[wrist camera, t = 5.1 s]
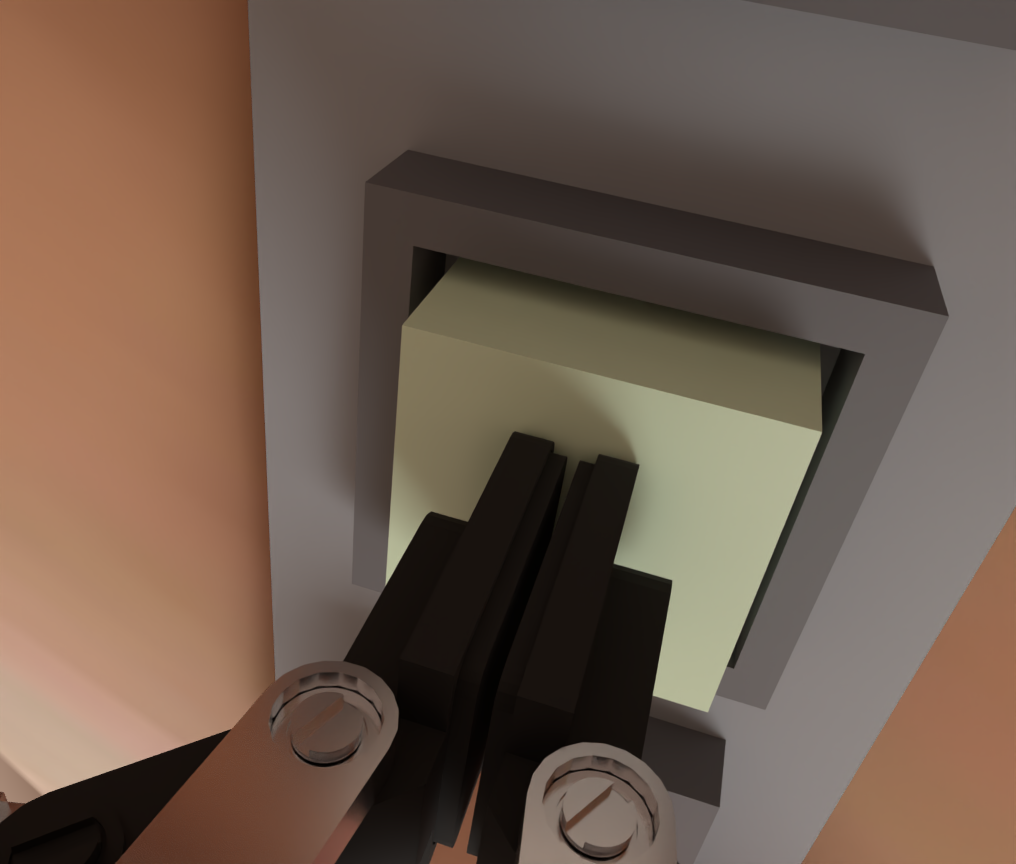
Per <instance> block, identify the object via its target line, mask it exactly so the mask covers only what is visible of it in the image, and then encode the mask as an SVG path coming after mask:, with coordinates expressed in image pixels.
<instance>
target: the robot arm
mask: <svg viewBox="0 0 1016 864" xmlns="http://www.w3.org/2000/svg"><path fill="white" fill-rule="evenodd" d="M554 446H555V443H554V442H553V441H550V440H546V439H542V438H538V437H535V436H531V435H527V434H523V433H520V432H516V431H514V432H513V433H512V435H511V436H510V438H509V440H508V442H507V444H506V446H505V448H504V450H503V452H502V454H501V456H500V458H499V460H498V462H497V464H496V466H495V468H494V470H493V472H492V474H491V476H490V478H489V481H488V483H487V485H486V487H485V489H484V491H483V493H482V495H481V497H480V499H479V501H478V503H477V505H476V507H475V509H474V511H473V513H472V515H471V517H470V519H469V521H468V522H467V521H463V520H460V519H456V518H453V517H449V516H446V515H442V514H439V513H435V512H432V511H431V512H429V513H428V514H427V515H426V516H425V518H424V519H423V521H422V522H421V524H420V526H419V528H418V529H417V531H416V533H415V535H414V536H413V538H412V540H411V542H410V544H409V545H408V547H407V549H406V551H405V552H404V554H403V556H402V558H401V559H400V561H399V563H398V565H397V567H396V568H395V570H394V572H393V574H392V575H391V577H390V579H389V581H388V582H387V584H386V586H385V588H384V590H383V591H382V593H381V595H380V597H379V598H378V600H377V602H376V604H375V605H374V607H373V609H372V611H371V613H370V614H369V616H368V618H367V620H366V621H365V623H364V625H363V627H362V628H361V630H360V632H359V634H358V636H357V637H356V639H355V641H354V643H353V644H352V646H351V648H350V650H349V651H348V653H347V655H346V657H345V659H344V660H343V661H320V662H315V663H310V664H305V665H302V666H300V667H297V668H295V669H293V670H291V671H289V672H287V673H285V674H283V675H282V676H281V677H280V678H279V679H277V680H276V681H275V682H274V683H273V684H272V685H270V686H269V687H268V688H267V689H266V690H265V691H264V693H263V694H262V695H261V696H260V697H259V698H258V700H257V701H256V702H255V703H254V704H253V705H252V706H251V708H250V709H249V710H248V711H247V712H246V713H245V715H244V716H243V717H242V718H241V719H240V720H239V721H238V723H237V724H236V725H235V726H234V727H233V728H232V729H230V730H227V731H225V732H222V733H219V734H216V735H213V736H210V737H207V738H204V739H202V740H199V741H196V742H193V743H190V744H187V745H184V746H181V747H179V748H176V749H173V750H170V751H167V752H164V753H161V754H158V755H155V756H153V757H150V758H147V759H144V760H141V761H138V762H135V763H132V764H130V765H127V766H124V767H121V768H118V769H115V770H112V771H109V772H106V773H104V774H101V775H98V776H95V777H92V778H89V779H86V780H83V781H81V782H78V783H75V784H72V785H69V786H66V787H63V788H60V789H57V790H55V791H52V792H49V793H47V794H45V795H43V796H40V797H38V798H36V799H35V800H32V801H30V802H28V803H26V804H25V803H15V802H7V799H6V796H5V794H4V792H0V864H430V861H431V859H432V856H433V853H434V851H435V848H436V845H437V843H439V844H442V845H445V846H448V847H451V848H453V847H454V845H455V842H456V840H457V837H458V834H459V831H460V829H461V826H462V823H463V820H464V817H465V814H466V811H467V809H468V806H469V803H470V800H471V797H472V794H473V791H474V789H475V786H476V783H477V780H478V777H479V774H480V771H481V776H480V781H479V787H478V792H477V798H476V803H475V808H474V814H473V819H472V825H471V830H470V836H469V841H468V846H467V853H468V854H471V855H474V856H477V862H476V864H679V863H678V861H677V843H676V820H675V815H674V810H673V805H672V800H671V798H670V796H669V794H668V792H667V790H666V788H665V787H664V785H663V783H662V781H661V779H660V778H659V777H658V776H657V775H656V774H655V773H654V772H653V771H652V770H651V769H650V768H649V767H648V766H647V764H646V763H645V762H643V761H641V759H642V753H643V747H644V742H645V736H646V731H647V725H648V719H649V714H650V708H651V703H652V697H653V691H654V686H655V680H656V675H657V669H658V663H659V658H660V652H661V647H662V641H663V635H664V630H665V624H666V619H667V613H668V607H669V602H670V596H671V590H672V580H670V579H666V578H663V577H659V576H656V575H652V574H649V573H645V572H642V571H638V570H635V569H631V568H628V567H624V566H621V565H617V564H614V560H615V556H616V552H617V549H618V545H619V541H620V537H621V534H622V530H623V526H624V522H625V519H626V515H627V511H628V507H629V504H630V500H631V496H632V492H633V489H634V485H635V481H636V477H637V473H638V470H639V466H640V465H639V464H636V463H632V462H628V461H625V460H621V459H617V458H613V457H610V456H606V455H602V454H599V455H598V457H597V460H596V463H595V464H592V463H589V462H585V461H581V460H580V461H579V464H578V466H577V469H576V472H575V474H574V477H573V480H572V483H571V485H570V488H569V491H568V493H567V496H566V499H565V502H564V504H563V507H562V510H561V513H560V515H559V518H558V521H557V524H556V526H555V529H554V532H553V528H554V523H555V518H556V513H557V508H558V503H559V499H560V494H561V489H562V484H563V479H564V475H565V470H566V465H567V457H566V456H563V455H559V454H555V453H554ZM552 532H553V535H552ZM481 769H482V770H481Z"/></svg>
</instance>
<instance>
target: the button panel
mask: <svg viewBox="0 0 1016 864" xmlns="http://www.w3.org/2000/svg"><path fill="white" fill-rule="evenodd" d="M248 20H249V45H250V69H251V94H252V119H253V143H254V168H255V192H256V217H257V241H258V266H259V290H260V315H261V339H262V364H263V389H264V413H265V438H266V462H267V487H268V511H269V536H270V560H271V585H272V609H273V634H274V659H275V681H276V680H277V679H279V678H280V677H281V676H282V675H283V674H285V673H287V672H289V671H291V670H293V669H295V668H297V667H300V666H302V665H305V664H310V663H315V662H320V661H343V660H344V659H345V657H346V655H347V653H348V651H349V650H350V648H351V646H352V644H353V643H354V641H355V639H356V637H357V636H358V634H359V632H360V630H361V628H362V627H363V625H364V623H365V621H366V620H367V618H368V616H369V614H370V613H371V611H372V609H373V607H374V605H375V604H376V602H377V600H378V598H379V597H380V595H381V593H382V591H383V590H384V588H385V585H386V569H387V554H388V538H389V523H390V507H391V491H392V476H393V460H394V445H395V429H396V413H397V398H398V382H399V367H400V351H401V335H402V325H403V324H404V322H405V321H406V320H407V319H408V318H409V316H410V315H411V314H412V313H413V312H414V310H415V309H416V308H417V307H418V306H419V305H420V303H421V302H422V301H423V300H424V299H425V297H426V296H427V295H428V294H429V293H430V292H431V290H432V289H433V288H434V287H435V286H436V284H437V283H438V282H439V281H440V280H441V279H442V277H443V276H444V275H445V274H446V273H447V271H448V270H449V269H450V268H451V267H452V265H453V264H454V263H455V262H456V261H457V260H458V258H459V257H462V258H466V259H470V260H475V261H479V262H483V263H487V264H491V265H496V266H500V267H504V268H508V269H512V270H516V271H521V272H525V273H529V274H533V275H537V276H541V277H546V278H550V279H554V280H558V281H562V282H566V283H571V284H575V285H579V286H583V287H587V288H591V289H596V290H600V291H604V292H608V293H612V294H617V295H621V296H625V297H629V298H633V299H637V300H642V301H646V302H650V303H654V304H658V305H662V306H667V307H671V308H675V309H679V310H683V311H687V312H692V313H696V314H700V315H704V316H708V317H712V318H717V319H721V320H725V321H729V322H733V323H738V324H742V325H746V326H750V327H754V328H758V329H763V330H767V331H771V332H775V333H779V334H783V335H788V336H792V337H796V338H800V339H804V340H808V341H813V342H817V343H820V361H821V401H822V434H821V436H820V439H819V441H818V444H817V446H816V449H815V451H814V454H813V456H812V458H811V461H810V463H809V466H808V468H807V471H806V473H805V476H804V478H803V481H802V483H801V485H800V488H799V490H798V493H797V495H796V498H795V500H794V503H793V505H792V507H791V510H790V512H789V515H788V517H787V520H786V522H785V525H784V527H783V529H782V532H781V534H780V537H779V539H778V542H777V544H776V547H775V549H774V552H773V554H772V556H771V559H770V561H769V564H768V566H767V569H766V571H765V574H764V576H763V578H762V581H761V583H760V586H759V588H758V591H757V593H756V596H755V598H754V601H753V603H752V605H751V608H750V610H749V613H748V615H747V618H746V620H745V623H744V625H743V627H742V630H741V632H740V635H739V637H738V640H737V642H736V645H735V647H734V649H733V652H732V654H731V657H730V659H729V662H728V664H727V667H726V669H725V672H724V674H723V676H722V679H721V681H720V684H719V686H718V689H717V691H716V694H715V696H714V698H713V701H712V703H711V706H710V708H709V711H708V712H705V711H701V710H698V709H695V708H692V707H688V706H685V705H682V704H679V703H676V702H672V701H669V700H666V699H663V698H659V697H656V696H653V697H652V703H651V708H650V714H649V719H648V725H647V731H646V736H645V742H644V747H643V753H642V759H641V761H643V762H645V763H646V764H647V766H648V767H649V768H650V769H651V770H652V771H653V772H654V773H655V774H656V775H657V776H658V777H659V778H660V779H661V781H662V783H663V785H664V787H665V788H666V790H667V792H668V794H669V796H670V798H671V800H672V805H673V810H674V815H675V820H676V843H677V861H678V863H679V864H801V863H802V861H803V860H804V858H805V856H806V855H807V853H808V851H809V850H810V848H811V846H812V845H813V843H814V841H815V840H816V838H817V836H818V835H819V833H820V831H821V830H822V828H823V826H824V825H825V823H826V821H827V820H828V818H829V816H830V815H831V813H832V811H833V810H834V808H835V806H836V805H837V803H838V801H839V800H840V798H841V796H842V795H843V793H844V791H845V790H846V788H847V786H848V785H849V783H850V781H851V780H852V778H853V776H854V775H855V773H856V771H857V770H858V768H859V766H860V765H861V763H862V761H863V760H864V758H865V756H866V755H867V753H868V751H869V750H870V748H871V746H872V745H873V743H874V741H875V740H876V738H877V736H878V735H879V733H880V731H881V730H882V728H883V726H884V725H885V723H886V721H887V720H888V718H889V716H890V715H891V713H892V711H893V710H894V708H895V706H896V705H897V703H898V701H899V700H900V698H901V696H902V695H903V693H904V691H905V690H906V688H907V686H908V685H909V683H910V681H911V680H912V678H913V676H914V675H915V673H916V671H917V670H918V668H919V666H920V665H921V663H922V661H923V660H924V658H925V656H926V655H927V653H928V651H929V650H930V648H931V646H932V645H933V643H934V641H935V640H936V638H937V636H938V635H939V633H940V631H941V630H942V628H943V626H944V625H945V623H946V621H947V620H948V618H949V616H950V615H951V613H952V611H953V610H954V608H955V606H956V605H957V603H958V601H959V600H960V598H961V596H962V595H963V593H964V591H965V590H966V588H967V586H968V585H969V583H970V581H971V580H972V578H973V576H974V575H975V573H976V571H977V570H978V568H979V566H980V565H981V563H982V561H983V560H984V558H985V557H986V555H987V553H988V552H989V550H990V548H991V547H992V545H993V543H994V542H995V540H996V538H997V537H998V535H999V533H1000V532H1001V530H1002V528H1003V527H1004V525H1005V523H1006V522H1007V520H1008V518H1009V517H1010V515H1011V513H1012V512H1013V510H1014V508H1015V507H1016V0H248ZM481 770H482V769H481Z"/></svg>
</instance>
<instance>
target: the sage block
mask: <svg viewBox="0 0 1016 864" xmlns="http://www.w3.org/2000/svg"><path fill="white" fill-rule="evenodd" d="M514 431H516V432H520V433H523V434H527V435H531V436H535V437H538V438H542V439H546V440H550V441H553V442H554V443H555V446H554V453H555V454H559V455H563V456H566V457H567V465H566V470H565V475H564V479H563V484H562V489H561V494H560V499H559V503H558V508H557V513H556V518H555V523H554V528H553V532H554V529H555V526H556V524H557V521H558V518H559V515H560V513H561V510H562V507H563V504H564V502H565V499H566V496H567V493H568V491H569V488H570V485H571V483H572V480H573V477H574V474H575V472H576V469H577V466H578V464H579V461H580V460H581V461H585V462H589V463H592V464H595V463H596V460H597V457H598V455H599V454H602V455H606V456H610V457H613V458H617V459H621V460H625V461H628V462H632V463H636V464H639V465H640V466H639V470H638V473H637V477H636V481H635V485H634V489H633V492H632V496H631V500H630V504H629V507H628V511H627V515H626V519H625V522H624V526H623V530H622V534H621V537H620V541H619V545H618V549H617V552H616V556H615V560H614V564H617V565H621V566H624V567H628V568H631V569H635V570H638V571H642V572H645V573H649V574H652V575H656V576H659V577H663V578H666V579H670V580H672V590H671V596H670V602H669V607H668V613H667V619H666V624H665V630H664V635H663V641H662V647H661V652H660V658H659V663H658V669H657V675H656V680H655V686H654V691H653V696H656V697H659V698H663V699H666V700H669V701H672V702H676V703H679V704H682V705H685V706H688V707H692V708H695V709H698V710H701V711H705V712H708V711H709V708H710V706H711V703H712V701H713V698H714V696H715V694H716V691H717V689H718V686H719V684H720V681H721V679H722V676H723V674H724V672H725V669H726V667H727V664H728V662H729V659H730V657H731V654H732V652H733V649H734V647H735V645H736V642H737V640H738V637H739V635H740V632H741V630H742V627H743V625H744V623H745V620H746V618H747V615H748V613H749V610H750V608H751V605H752V603H753V601H754V598H755V596H756V593H757V591H758V588H759V586H760V583H761V581H762V578H763V576H764V574H765V571H766V569H767V566H768V564H769V561H770V559H771V556H772V554H773V552H774V549H775V547H776V544H777V542H778V539H779V537H780V534H781V532H782V529H783V527H784V525H785V522H786V520H787V517H788V515H789V512H790V510H791V507H792V505H793V503H794V500H795V498H796V495H797V493H798V490H799V488H800V485H801V483H802V481H803V478H804V476H805V473H806V471H807V468H808V466H809V463H810V461H811V458H812V456H813V454H814V451H815V449H816V446H817V444H818V441H819V439H820V436H821V434H822V401H821V361H820V343H817V342H813V341H808V340H804V339H800V338H796V337H792V336H788V335H783V334H779V333H775V332H771V331H767V330H763V329H758V328H754V327H750V326H746V325H742V324H738V323H733V322H729V321H725V320H721V319H717V318H712V317H708V316H704V315H700V314H696V313H692V312H687V311H683V310H679V309H675V308H671V307H667V306H662V305H658V304H654V303H650V302H646V301H642V300H637V299H633V298H629V297H625V296H621V295H617V294H612V293H608V292H604V291H600V290H596V289H591V288H587V287H583V286H579V285H575V284H571V283H566V282H562V281H558V280H554V279H550V278H546V277H541V276H537V275H533V274H529V273H525V272H521V271H516V270H512V269H508V268H504V267H500V266H496V265H491V264H487V263H483V262H479V261H475V260H470V259H466V258H462V257H459V258H458V260H457V261H456V262H455V263H454V264H453V265H452V267H451V268H450V269H449V270H448V271H447V273H446V274H445V275H444V276H443V277H442V279H441V280H440V281H439V282H438V283H437V284H436V286H435V287H434V288H433V289H432V290H431V292H430V293H429V294H428V295H427V296H426V297H425V299H424V300H423V301H422V302H421V303H420V305H419V306H418V307H417V308H416V309H415V310H414V312H413V313H412V314H411V315H410V316H409V318H408V319H407V320H406V321H405V322H404V324H403V325H402V335H401V351H400V367H399V382H398V398H397V413H396V429H395V445H394V460H393V476H392V491H391V507H390V523H389V538H388V554H387V569H386V584H387V582H388V581H389V579H390V577H391V575H392V574H393V572H394V570H395V568H396V567H397V565H398V563H399V561H400V559H401V558H402V556H403V554H404V552H405V551H406V549H407V547H408V545H409V544H410V542H411V540H412V538H413V536H414V535H415V533H416V531H417V529H418V528H419V526H420V524H421V522H422V521H423V519H424V518H425V516H426V515H427V514H428V513H429V512H431V511H432V512H435V513H439V514H442V515H446V516H449V517H453V518H456V519H460V520H463V521H467V522H468V521H469V519H470V517H471V515H472V513H473V511H474V509H475V507H476V505H477V503H478V501H479V499H480V497H481V495H482V493H483V491H484V489H485V487H486V485H487V483H488V481H489V478H490V476H491V474H492V472H493V470H494V468H495V466H496V464H497V462H498V460H499V458H500V456H501V454H502V452H503V450H504V448H505V446H506V444H507V442H508V440H509V438H510V436H511V435H512V433H513V432H514ZM553 532H552V535H553ZM385 586H386V585H385Z"/></svg>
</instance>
